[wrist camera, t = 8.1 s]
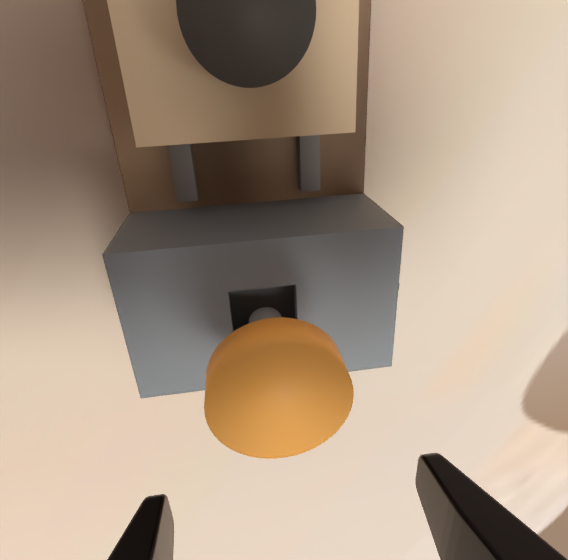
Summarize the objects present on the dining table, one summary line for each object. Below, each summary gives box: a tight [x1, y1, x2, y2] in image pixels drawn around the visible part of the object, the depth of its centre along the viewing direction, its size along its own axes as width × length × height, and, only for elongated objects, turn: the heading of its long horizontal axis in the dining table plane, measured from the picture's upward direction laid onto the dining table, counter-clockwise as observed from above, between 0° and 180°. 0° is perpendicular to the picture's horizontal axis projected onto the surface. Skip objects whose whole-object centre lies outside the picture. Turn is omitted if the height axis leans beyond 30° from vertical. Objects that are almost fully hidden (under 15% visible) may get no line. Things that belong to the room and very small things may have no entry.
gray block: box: [103, 193, 404, 398], centre depth 18 cm, size 10×6×6 cm, turn 93°
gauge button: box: [204, 307, 353, 458], centre depth 13 cm, size 4×4×4 cm
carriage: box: [107, 0, 359, 148], centre depth 11 cm, size 7×6×6 cm
